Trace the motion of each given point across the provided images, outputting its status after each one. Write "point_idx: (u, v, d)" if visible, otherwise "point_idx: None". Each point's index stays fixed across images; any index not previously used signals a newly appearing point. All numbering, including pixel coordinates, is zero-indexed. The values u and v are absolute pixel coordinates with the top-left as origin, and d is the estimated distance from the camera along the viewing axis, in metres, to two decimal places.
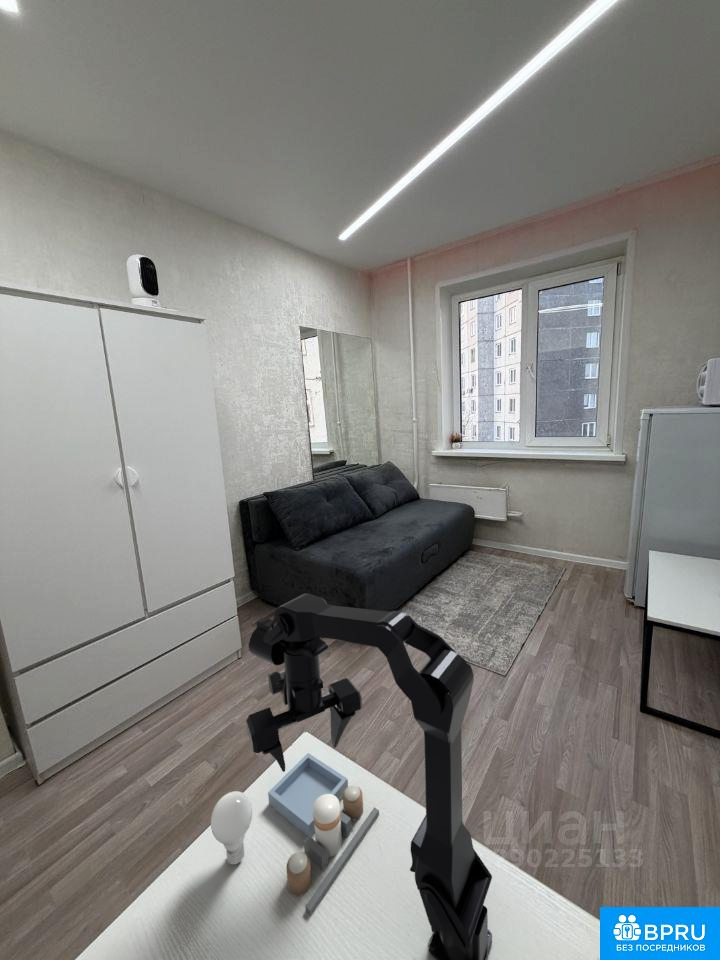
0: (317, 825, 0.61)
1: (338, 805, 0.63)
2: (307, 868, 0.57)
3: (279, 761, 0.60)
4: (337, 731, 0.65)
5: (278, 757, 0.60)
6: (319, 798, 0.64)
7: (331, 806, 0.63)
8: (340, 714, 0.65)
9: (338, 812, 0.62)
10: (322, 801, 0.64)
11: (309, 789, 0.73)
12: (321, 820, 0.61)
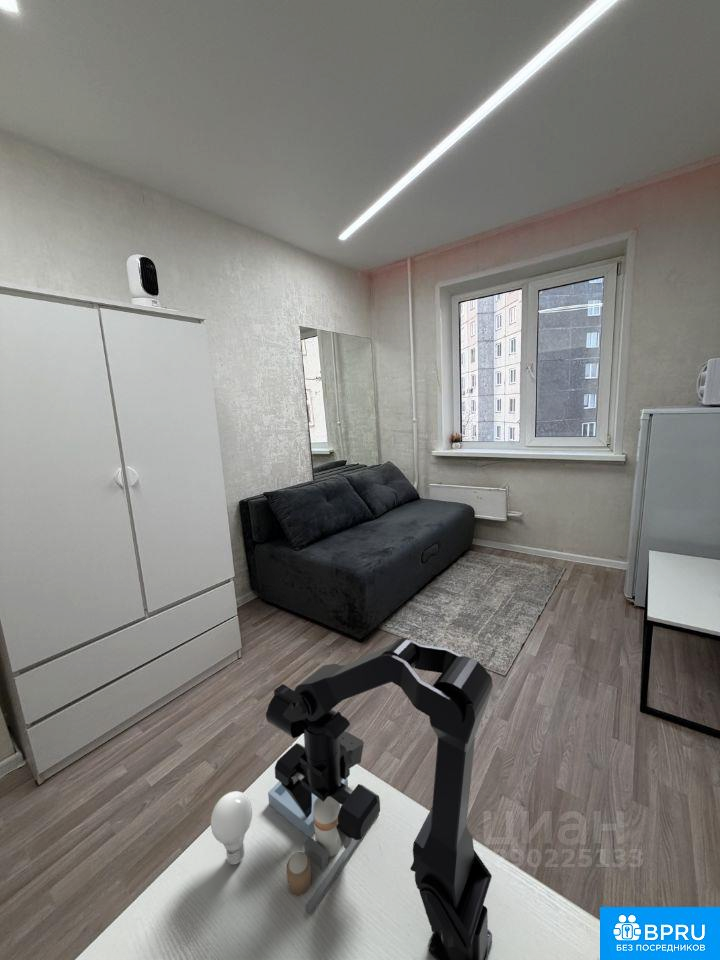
0: (317, 825, 0.61)
1: (338, 805, 0.63)
2: (307, 868, 0.57)
3: (297, 804, 0.65)
4: None
5: (293, 798, 0.65)
6: None
7: (331, 806, 0.63)
8: None
9: (338, 812, 0.62)
10: (322, 801, 0.64)
11: None
12: (321, 820, 0.61)
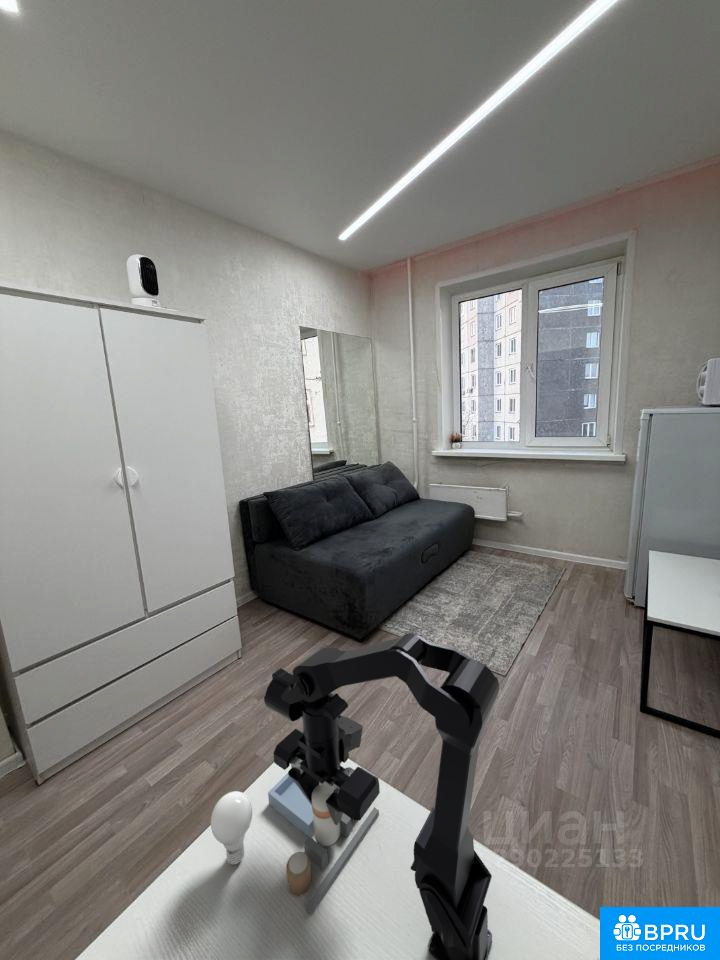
0: (316, 813, 0.61)
1: None
2: (307, 868, 0.57)
3: (304, 795, 0.63)
4: None
5: (300, 789, 0.63)
6: (318, 787, 0.64)
7: (330, 794, 0.63)
8: (331, 797, 0.59)
9: None
10: (321, 789, 0.63)
11: None
12: (319, 808, 0.61)
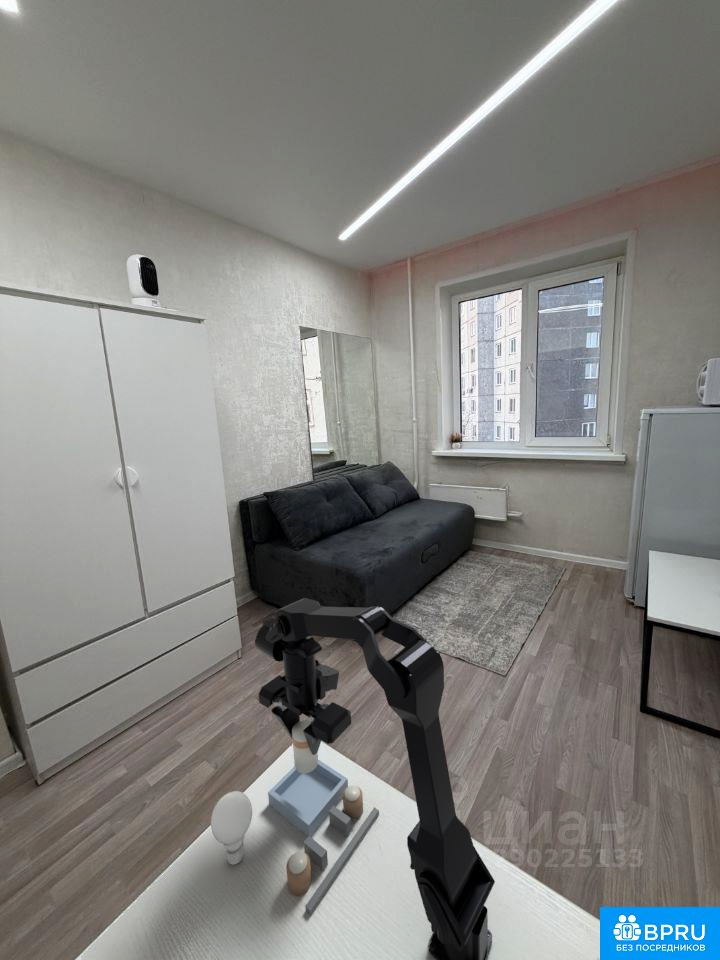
0: (295, 743, 0.68)
1: None
2: (307, 868, 0.57)
3: (286, 730, 0.71)
4: None
5: (282, 724, 0.70)
6: (298, 723, 0.71)
7: None
8: (308, 727, 0.66)
9: None
10: (300, 725, 0.71)
11: (309, 789, 0.73)
12: (298, 739, 0.68)
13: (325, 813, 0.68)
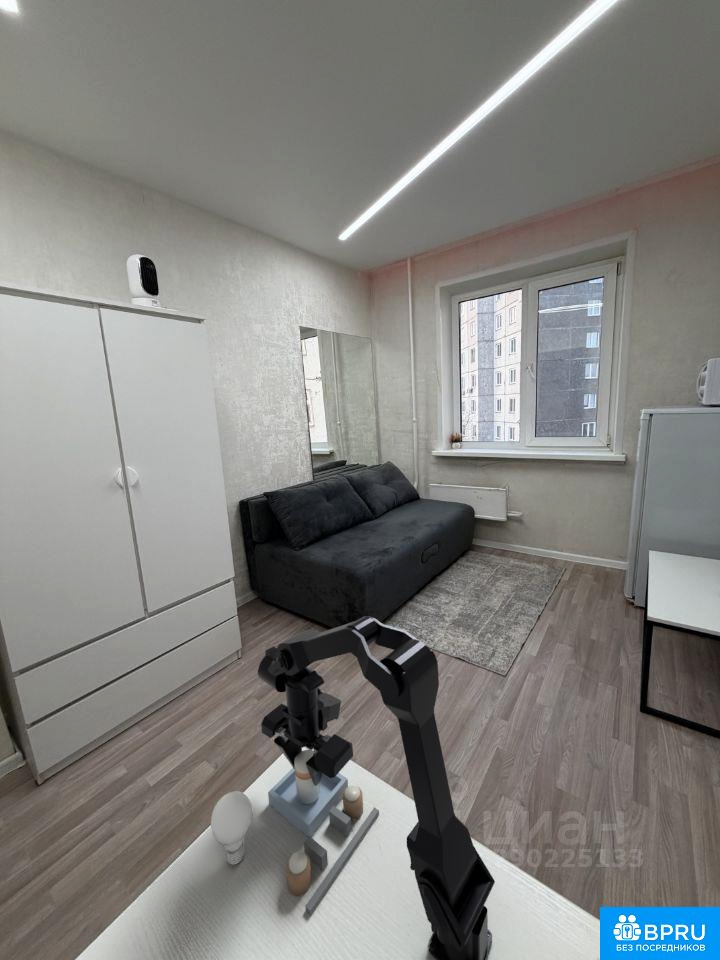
0: (298, 774, 0.69)
1: None
2: (307, 868, 0.57)
3: (288, 760, 0.72)
4: None
5: (285, 755, 0.71)
6: (300, 753, 0.72)
7: None
8: (310, 759, 0.67)
9: None
10: (303, 755, 0.72)
11: None
12: (301, 770, 0.69)
13: (325, 813, 0.68)
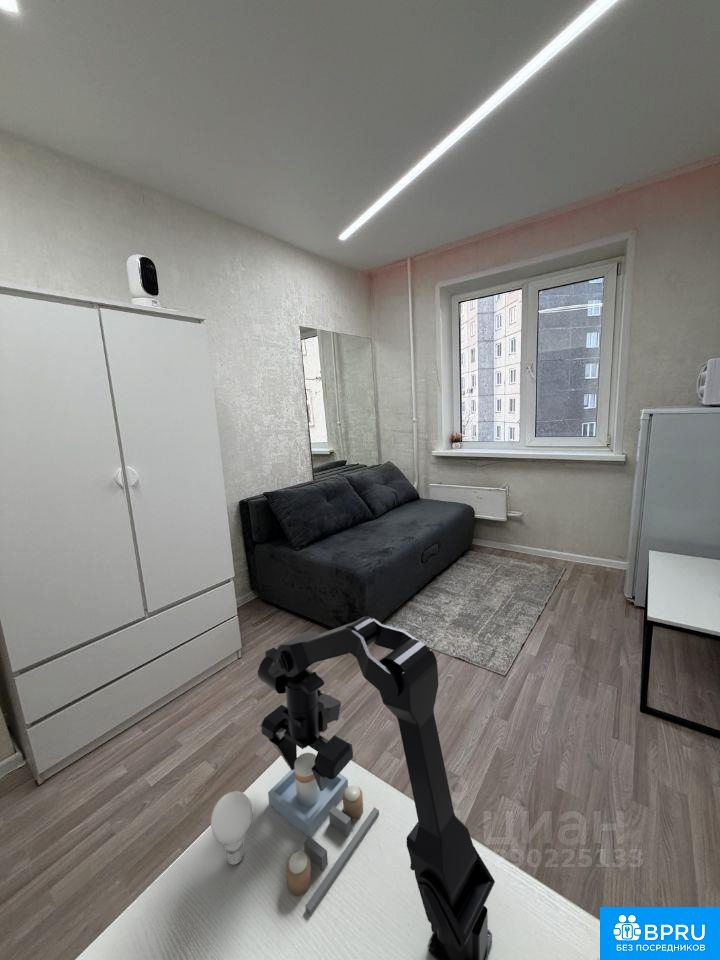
0: (298, 778, 0.69)
1: None
2: (307, 868, 0.57)
3: (283, 757, 0.73)
4: None
5: (279, 752, 0.72)
6: (300, 756, 0.72)
7: (310, 762, 0.71)
8: None
9: None
10: (303, 758, 0.72)
11: None
12: (301, 773, 0.69)
13: (325, 813, 0.68)
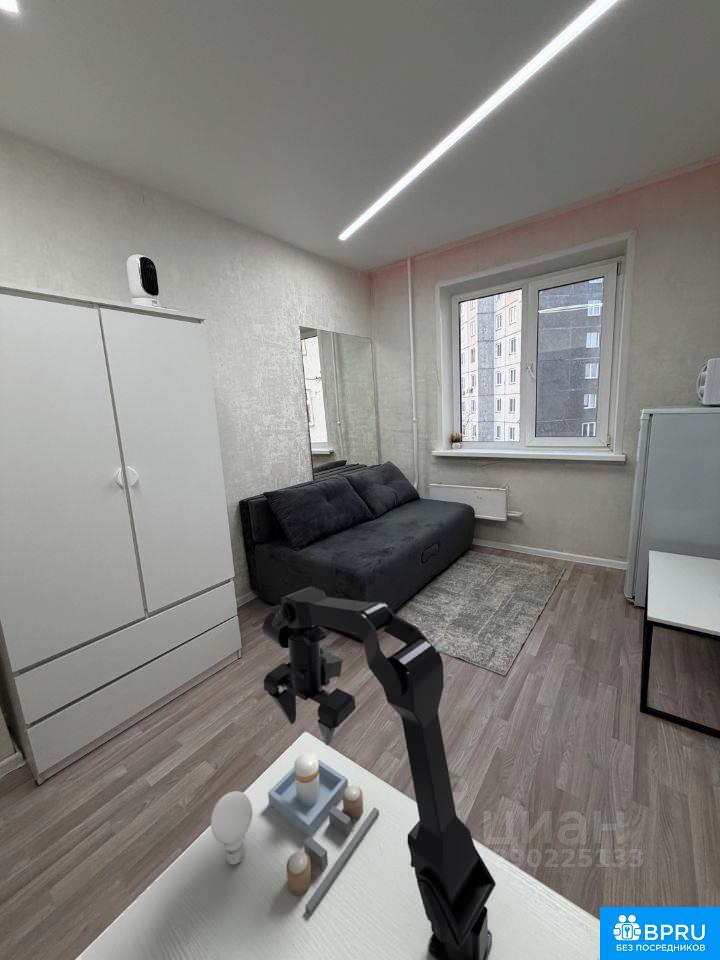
0: (298, 778, 0.69)
1: (316, 761, 0.71)
2: (307, 868, 0.57)
3: (282, 711, 0.73)
4: None
5: (279, 706, 0.73)
6: (300, 756, 0.72)
7: (310, 762, 0.71)
8: None
9: (316, 767, 0.70)
10: (303, 758, 0.72)
11: None
12: (301, 773, 0.69)
13: (325, 813, 0.68)
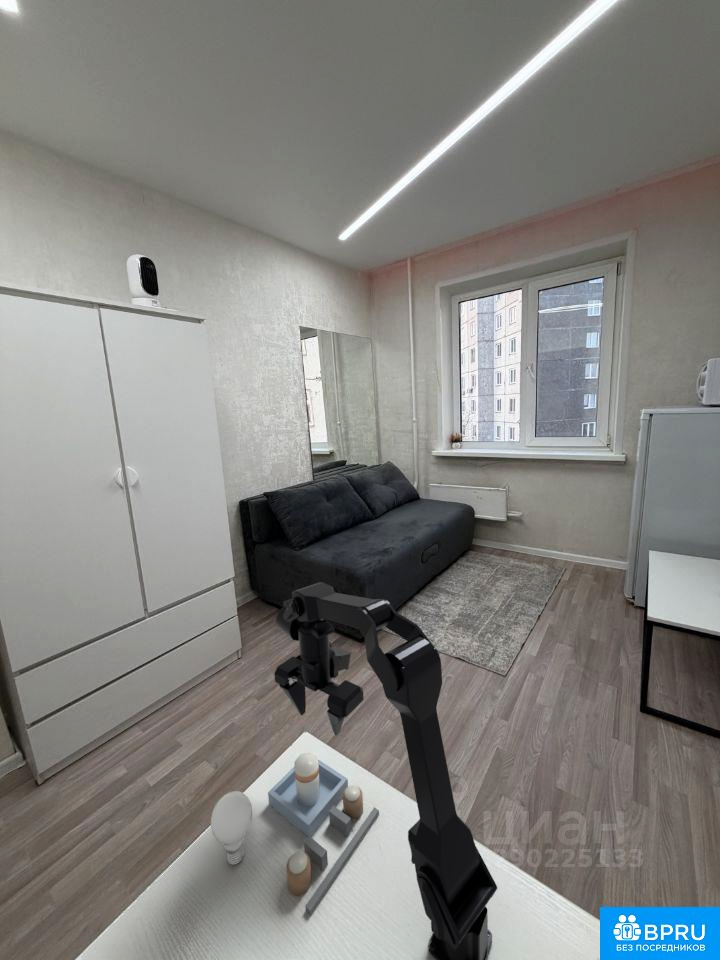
0: (298, 778, 0.69)
1: (316, 761, 0.71)
2: (307, 868, 0.57)
3: (293, 702, 0.76)
4: None
5: (289, 697, 0.76)
6: (300, 756, 0.72)
7: (310, 762, 0.71)
8: None
9: (316, 767, 0.70)
10: (303, 758, 0.72)
11: None
12: (301, 773, 0.69)
13: (325, 813, 0.68)
